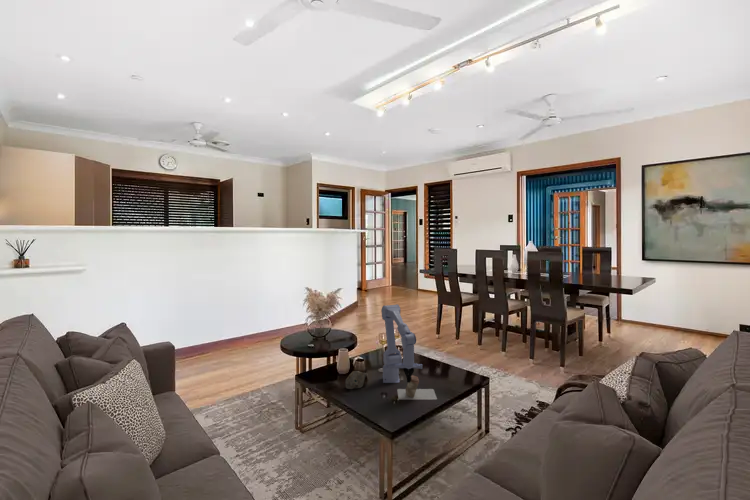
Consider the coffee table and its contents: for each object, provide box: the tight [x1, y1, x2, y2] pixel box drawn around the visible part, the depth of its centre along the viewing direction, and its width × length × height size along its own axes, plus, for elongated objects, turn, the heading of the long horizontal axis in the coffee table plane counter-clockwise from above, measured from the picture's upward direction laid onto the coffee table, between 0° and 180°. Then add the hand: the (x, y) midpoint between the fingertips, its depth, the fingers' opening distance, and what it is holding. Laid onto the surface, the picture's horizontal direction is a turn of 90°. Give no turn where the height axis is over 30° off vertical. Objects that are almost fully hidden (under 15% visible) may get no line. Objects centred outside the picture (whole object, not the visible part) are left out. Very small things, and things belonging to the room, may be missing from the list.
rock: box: [345, 370, 367, 390], centre depth 202 cm, size 12×7×10 cm, turn 121°
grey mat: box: [396, 388, 438, 401], centre depth 192 cm, size 20×12×1 cm, turn 90°
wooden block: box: [405, 374, 420, 398], centre depth 191 cm, size 4×6×9 cm, turn 1°
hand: (408, 381), depth 191 cm, fingers closed
